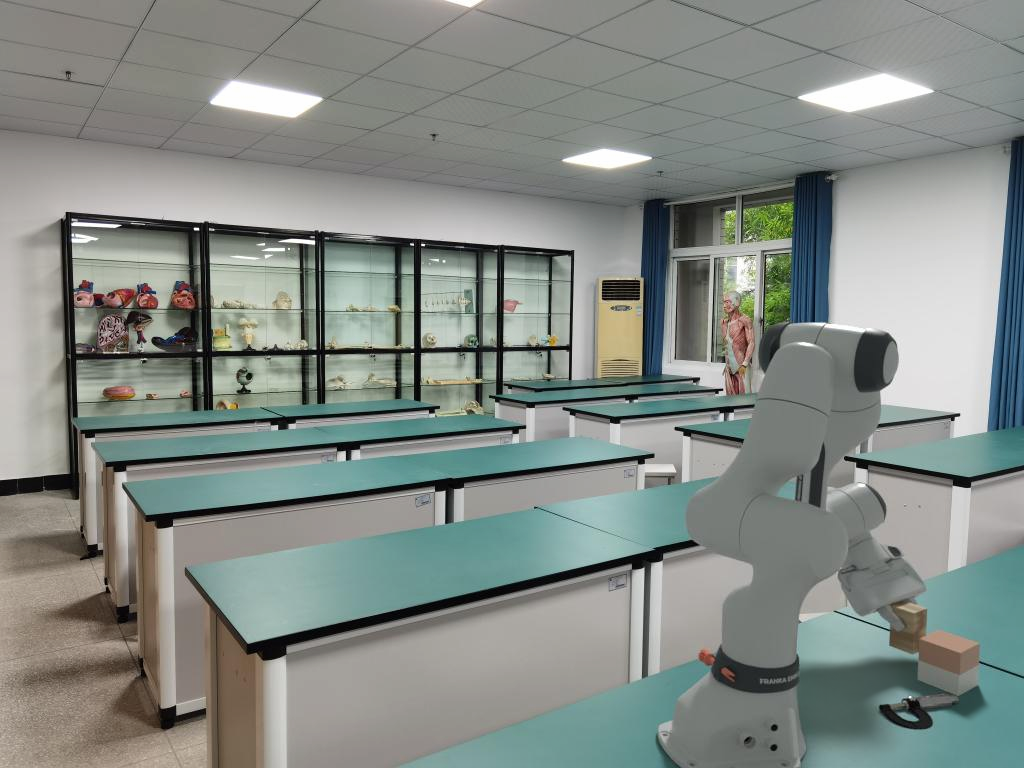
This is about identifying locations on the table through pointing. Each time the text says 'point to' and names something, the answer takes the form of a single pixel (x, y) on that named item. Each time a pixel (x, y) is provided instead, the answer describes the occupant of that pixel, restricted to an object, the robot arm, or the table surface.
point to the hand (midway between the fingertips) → (911, 626)
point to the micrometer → (917, 709)
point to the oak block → (908, 627)
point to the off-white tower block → (948, 678)
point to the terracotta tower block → (949, 652)
